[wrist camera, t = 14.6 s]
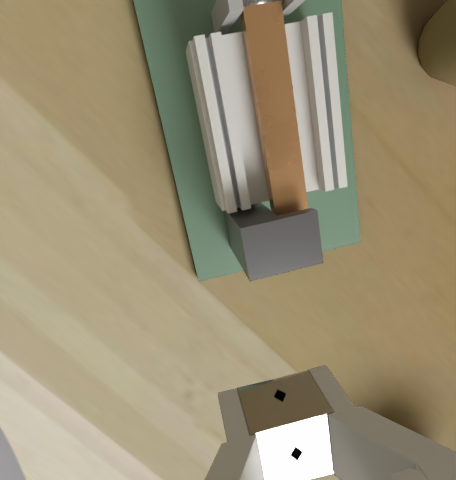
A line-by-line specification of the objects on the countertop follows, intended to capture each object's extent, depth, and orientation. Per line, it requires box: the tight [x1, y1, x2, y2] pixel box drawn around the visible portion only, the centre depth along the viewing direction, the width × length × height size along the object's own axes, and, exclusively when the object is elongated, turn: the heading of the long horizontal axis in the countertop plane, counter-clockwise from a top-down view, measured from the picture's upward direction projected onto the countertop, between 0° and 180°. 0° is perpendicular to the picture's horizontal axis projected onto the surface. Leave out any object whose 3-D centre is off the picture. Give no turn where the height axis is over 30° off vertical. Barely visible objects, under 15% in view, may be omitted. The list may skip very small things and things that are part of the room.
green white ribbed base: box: [133, 0, 361, 282], centre depth 29 cm, size 26×16×8 cm, turn 11°
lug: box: [224, 202, 323, 281], centre depth 30 cm, size 4×6×8 cm
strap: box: [240, 0, 308, 215], centre depth 27 cm, size 17×3×1 cm, turn 11°
